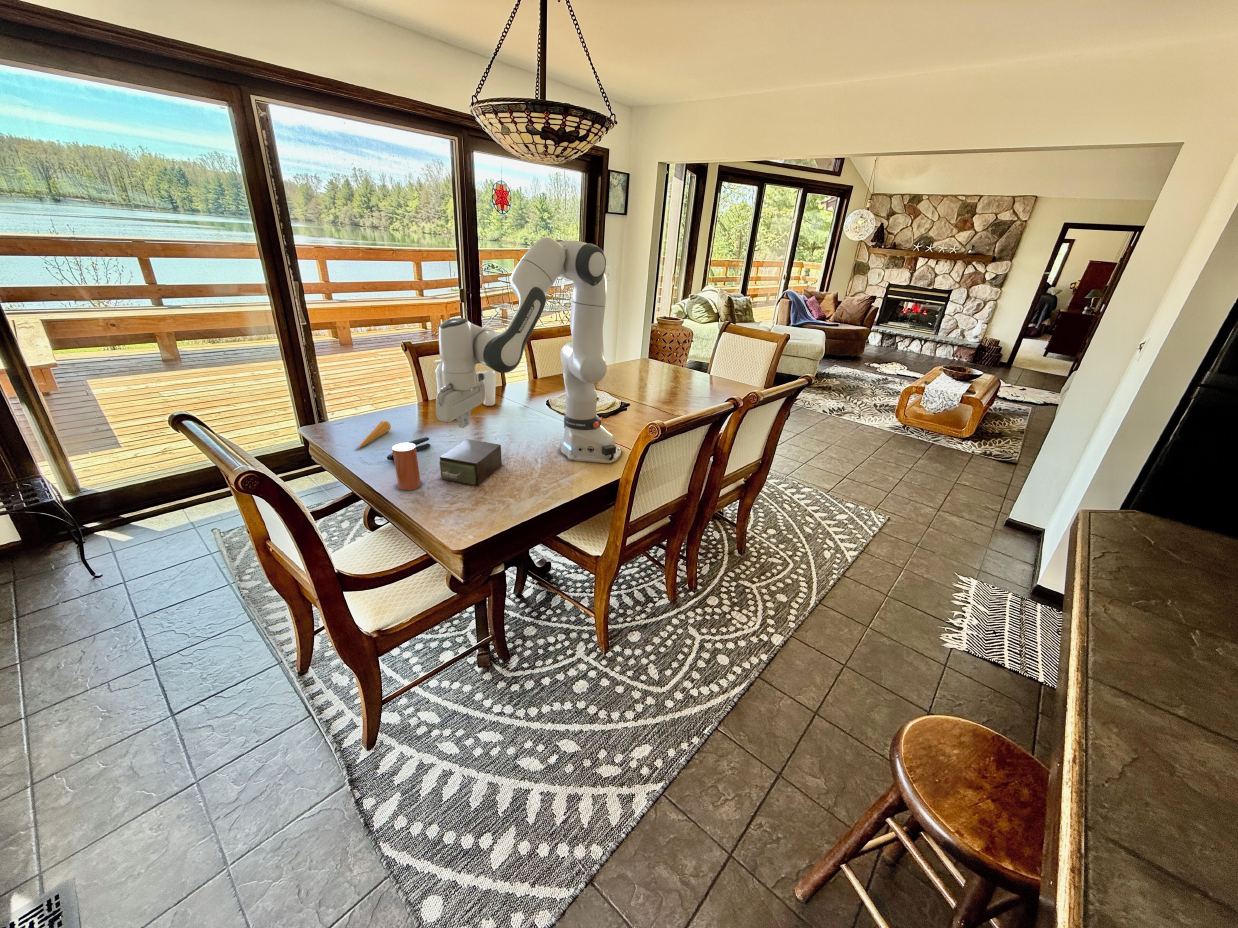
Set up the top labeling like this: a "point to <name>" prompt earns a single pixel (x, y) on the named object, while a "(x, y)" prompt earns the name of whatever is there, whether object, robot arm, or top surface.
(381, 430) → the carrot
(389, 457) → the can opener
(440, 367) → the water bottle
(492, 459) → the cabinet
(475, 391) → the robot arm
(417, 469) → the terracotta cylinder
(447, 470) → the drawer
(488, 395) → the drinking glass
